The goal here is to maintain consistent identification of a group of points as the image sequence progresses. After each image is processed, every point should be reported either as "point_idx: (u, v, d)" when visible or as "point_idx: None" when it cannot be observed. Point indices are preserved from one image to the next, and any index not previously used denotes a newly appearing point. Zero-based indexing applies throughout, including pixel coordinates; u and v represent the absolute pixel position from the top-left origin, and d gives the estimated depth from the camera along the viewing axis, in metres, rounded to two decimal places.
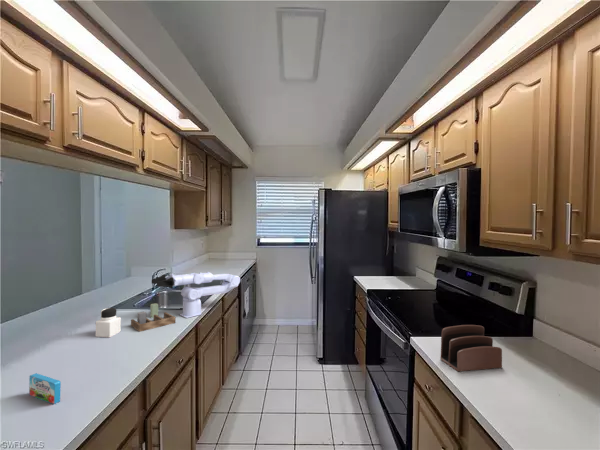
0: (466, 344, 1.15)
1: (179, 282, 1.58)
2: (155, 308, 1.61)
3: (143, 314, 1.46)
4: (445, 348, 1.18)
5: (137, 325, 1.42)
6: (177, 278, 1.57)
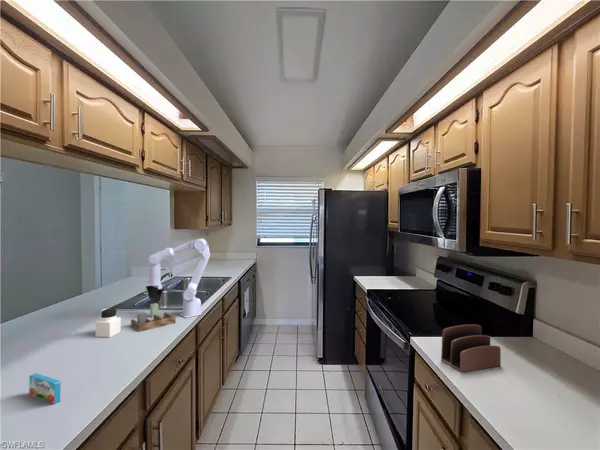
0: (466, 344, 1.15)
1: (158, 279, 1.60)
2: (155, 308, 1.61)
3: (143, 314, 1.46)
4: (446, 349, 1.17)
5: (137, 325, 1.42)
6: (153, 281, 1.59)
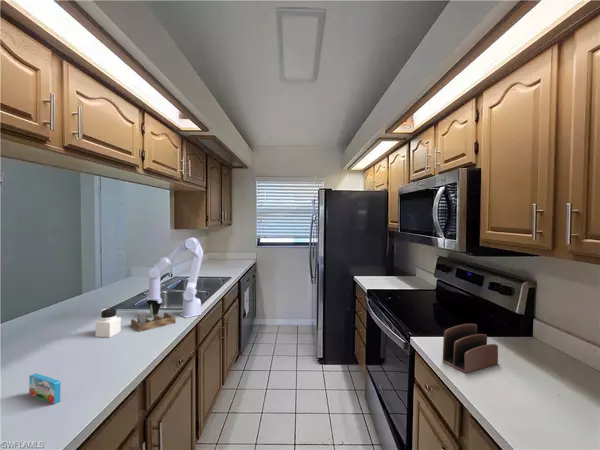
0: (467, 344, 1.15)
1: (157, 292, 1.60)
2: None
3: (143, 314, 1.46)
4: (447, 350, 1.16)
5: (137, 325, 1.42)
6: (153, 295, 1.59)
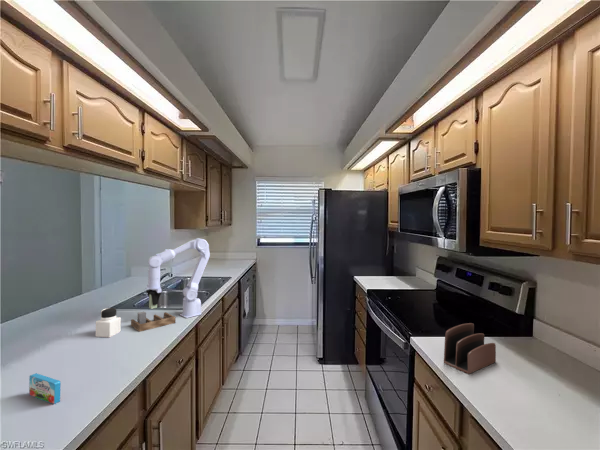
0: (467, 344, 1.15)
1: (157, 282, 1.54)
2: None
3: (143, 314, 1.46)
4: (448, 351, 1.16)
5: (137, 325, 1.42)
6: (152, 284, 1.53)
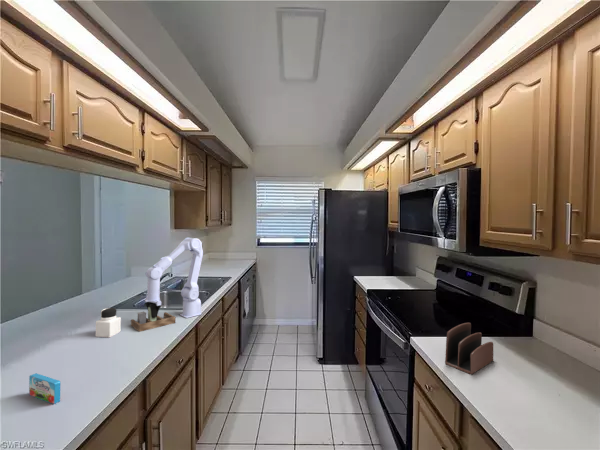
0: (468, 344, 1.15)
1: (157, 294, 1.49)
2: None
3: (143, 314, 1.46)
4: (449, 351, 1.15)
5: (137, 325, 1.42)
6: (152, 297, 1.48)
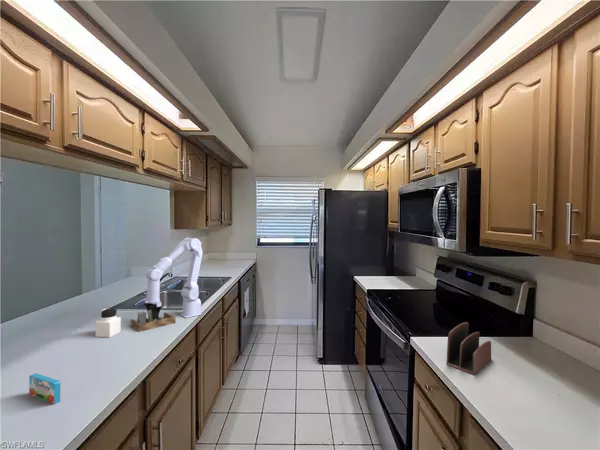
0: (468, 344, 1.15)
1: (157, 295, 1.49)
2: None
3: (143, 314, 1.46)
4: (450, 352, 1.15)
5: (137, 325, 1.42)
6: (152, 298, 1.48)
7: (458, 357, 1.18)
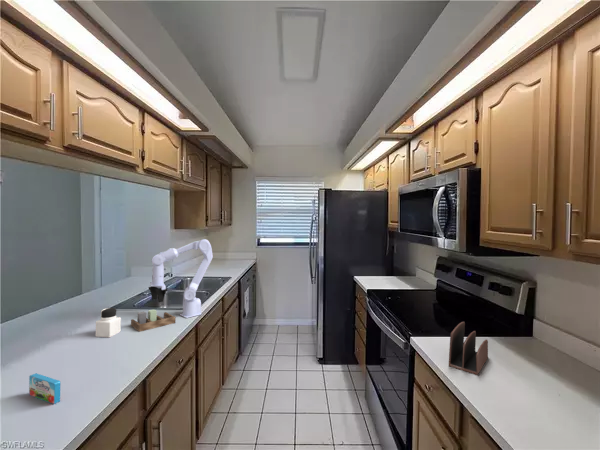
0: (468, 344, 1.15)
1: (161, 279, 1.59)
2: (153, 315, 1.49)
3: (143, 314, 1.46)
4: (452, 353, 1.14)
5: (137, 325, 1.42)
6: (157, 282, 1.57)
7: (458, 357, 1.18)
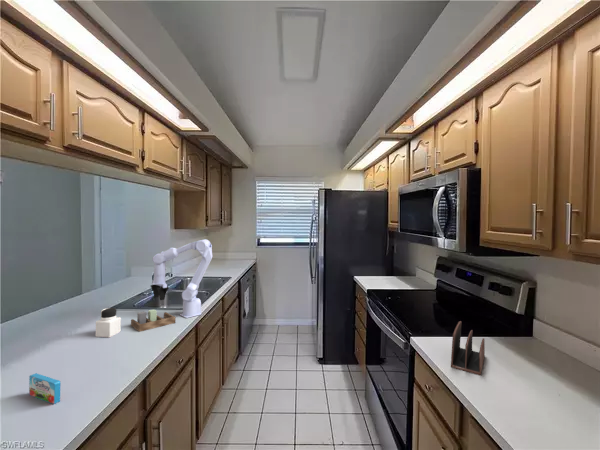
0: (469, 344, 1.15)
1: (163, 278, 1.63)
2: (153, 315, 1.49)
3: (143, 314, 1.46)
4: (453, 354, 1.13)
5: (137, 325, 1.42)
6: (158, 280, 1.62)
7: (458, 357, 1.18)
